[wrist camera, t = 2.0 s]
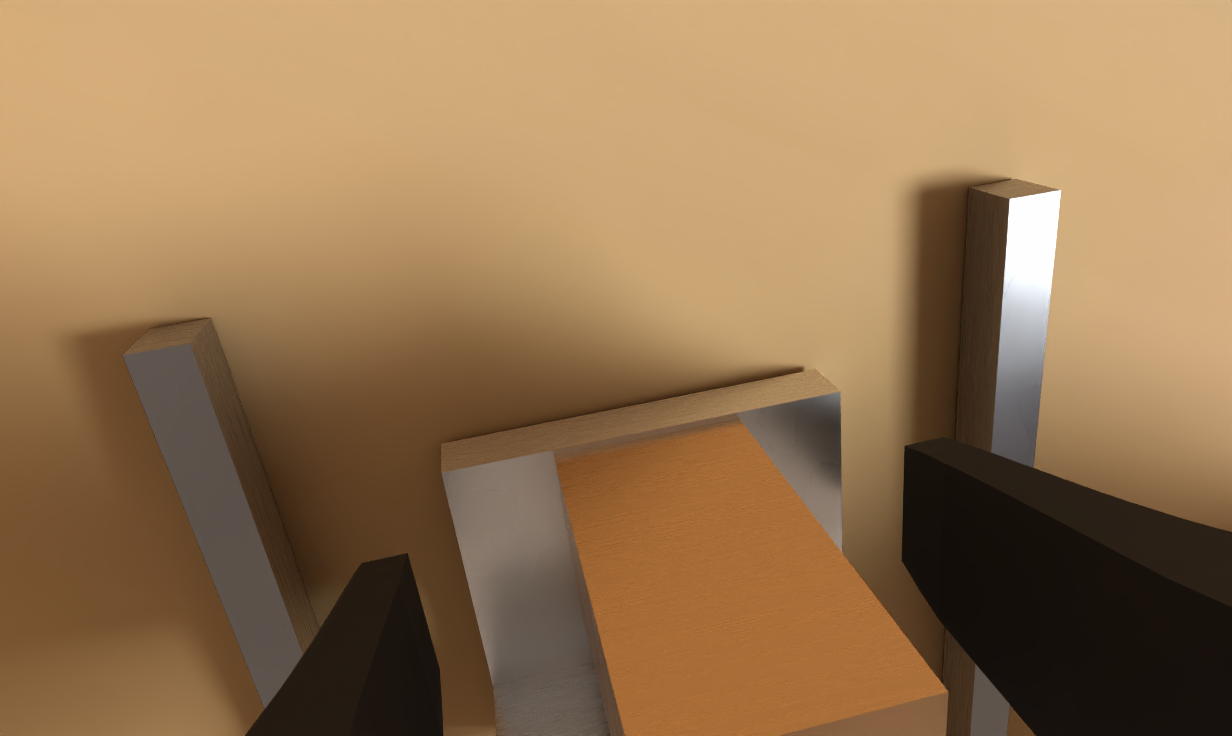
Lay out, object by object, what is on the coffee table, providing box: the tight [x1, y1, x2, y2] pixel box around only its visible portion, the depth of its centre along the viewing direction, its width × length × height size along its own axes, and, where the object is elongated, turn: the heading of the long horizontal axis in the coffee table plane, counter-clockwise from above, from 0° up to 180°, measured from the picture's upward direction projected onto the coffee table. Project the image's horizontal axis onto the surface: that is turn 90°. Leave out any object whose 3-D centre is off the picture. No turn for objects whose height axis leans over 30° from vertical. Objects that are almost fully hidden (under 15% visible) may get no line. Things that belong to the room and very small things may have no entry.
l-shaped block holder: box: [441, 369, 948, 736], centre depth 11 cm, size 6×6×6 cm
